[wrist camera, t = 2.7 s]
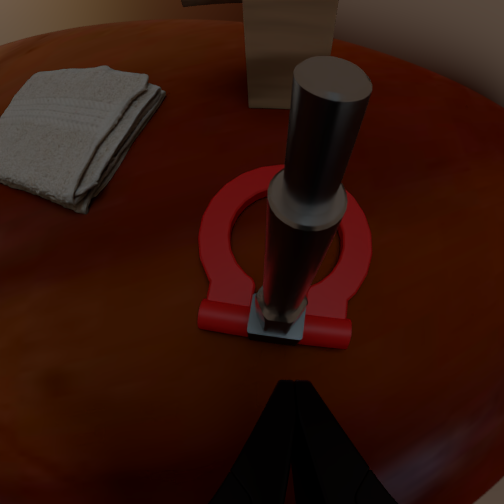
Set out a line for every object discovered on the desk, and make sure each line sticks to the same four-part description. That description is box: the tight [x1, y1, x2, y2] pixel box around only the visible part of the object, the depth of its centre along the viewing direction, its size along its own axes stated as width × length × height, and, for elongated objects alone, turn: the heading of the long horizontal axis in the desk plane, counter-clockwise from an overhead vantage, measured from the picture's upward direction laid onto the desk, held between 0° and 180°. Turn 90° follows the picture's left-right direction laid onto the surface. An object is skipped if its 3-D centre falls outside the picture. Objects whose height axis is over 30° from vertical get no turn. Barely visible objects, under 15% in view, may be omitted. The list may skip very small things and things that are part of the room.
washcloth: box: [0, 66, 166, 214], centre depth 20 cm, size 12×18×3 cm, turn 71°
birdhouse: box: [181, 0, 339, 109], centre depth 17 cm, size 5×9×11 cm, turn 87°
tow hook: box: [198, 56, 372, 349], centre depth 11 cm, size 9×14×10 cm
